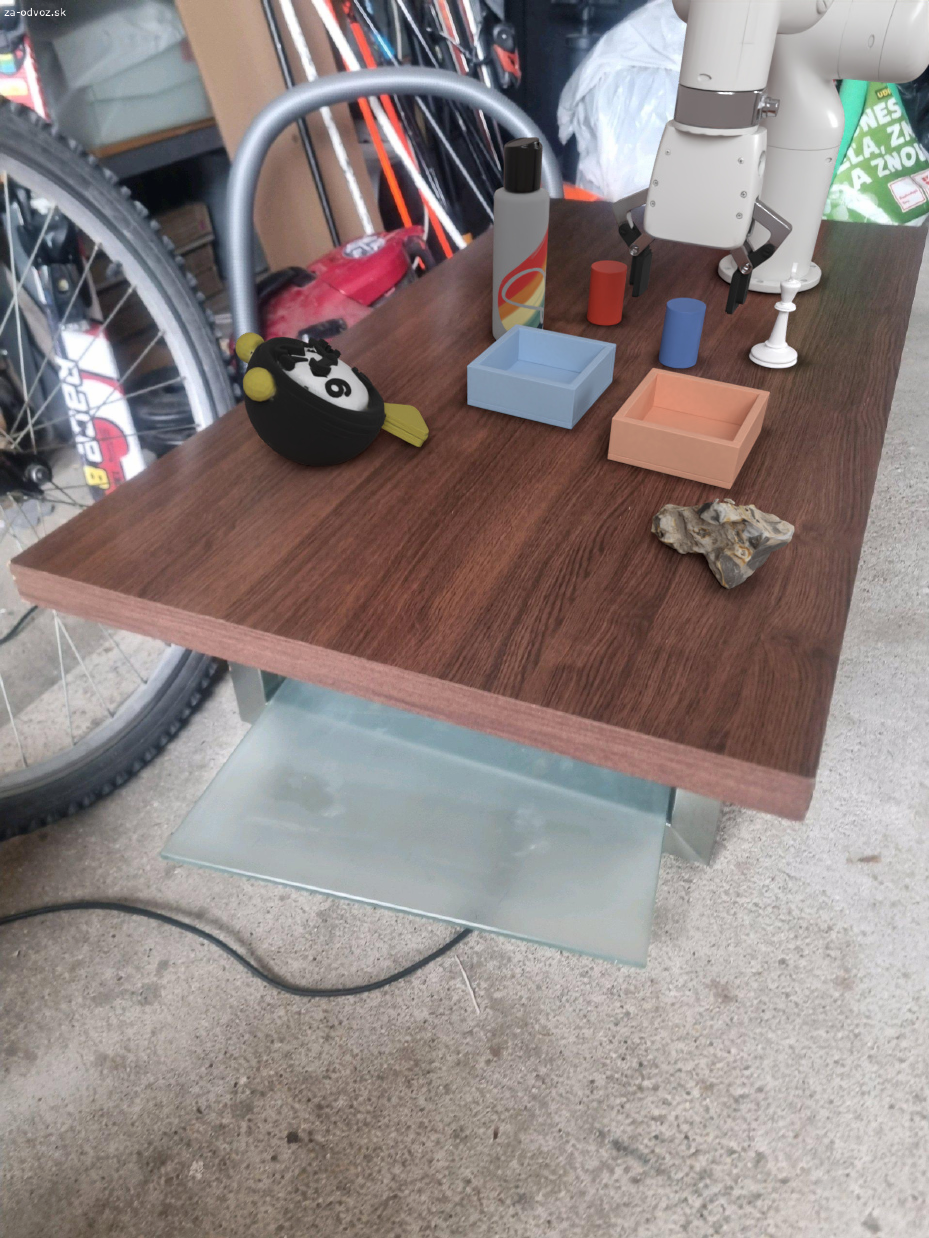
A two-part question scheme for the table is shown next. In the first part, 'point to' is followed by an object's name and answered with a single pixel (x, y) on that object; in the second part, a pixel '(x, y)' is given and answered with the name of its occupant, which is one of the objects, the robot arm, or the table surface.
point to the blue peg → (682, 332)
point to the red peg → (606, 292)
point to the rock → (723, 536)
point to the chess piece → (779, 330)
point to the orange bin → (688, 427)
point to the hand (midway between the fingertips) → (684, 301)
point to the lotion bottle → (520, 239)
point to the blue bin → (541, 375)
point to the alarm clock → (316, 402)
